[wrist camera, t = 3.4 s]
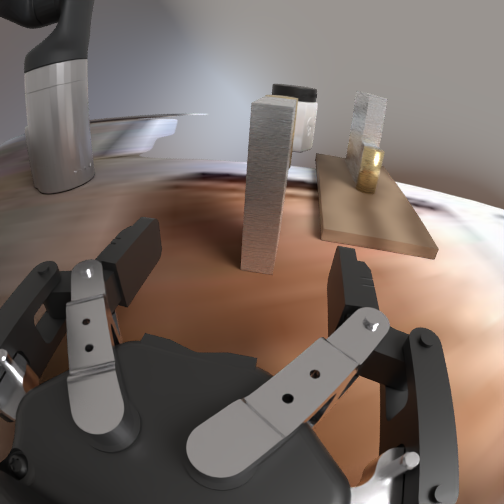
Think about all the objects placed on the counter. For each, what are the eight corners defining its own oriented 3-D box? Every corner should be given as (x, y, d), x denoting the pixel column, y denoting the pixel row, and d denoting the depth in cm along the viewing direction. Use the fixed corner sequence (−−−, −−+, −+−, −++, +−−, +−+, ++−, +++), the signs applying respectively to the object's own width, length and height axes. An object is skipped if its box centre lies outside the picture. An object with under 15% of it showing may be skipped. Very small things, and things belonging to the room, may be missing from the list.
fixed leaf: (357, 191, 34) (375, 96, 27) (344, 160, 45) (355, 90, 38) (376, 195, 34) (396, 102, 27) (359, 163, 45) (371, 94, 38)
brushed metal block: (273, 274, 22) (295, 107, 15) (239, 269, 22) (249, 102, 15) (283, 221, 29) (298, 97, 22) (257, 217, 29) (267, 94, 22)
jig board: (321, 239, 26) (323, 228, 26) (315, 159, 48) (316, 153, 47) (434, 259, 25) (438, 249, 24) (382, 172, 46) (383, 166, 46)
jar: (295, 155, 49) (303, 88, 42) (257, 145, 53) (262, 83, 46) (317, 148, 55) (325, 90, 48) (282, 139, 59) (288, 84, 52)
